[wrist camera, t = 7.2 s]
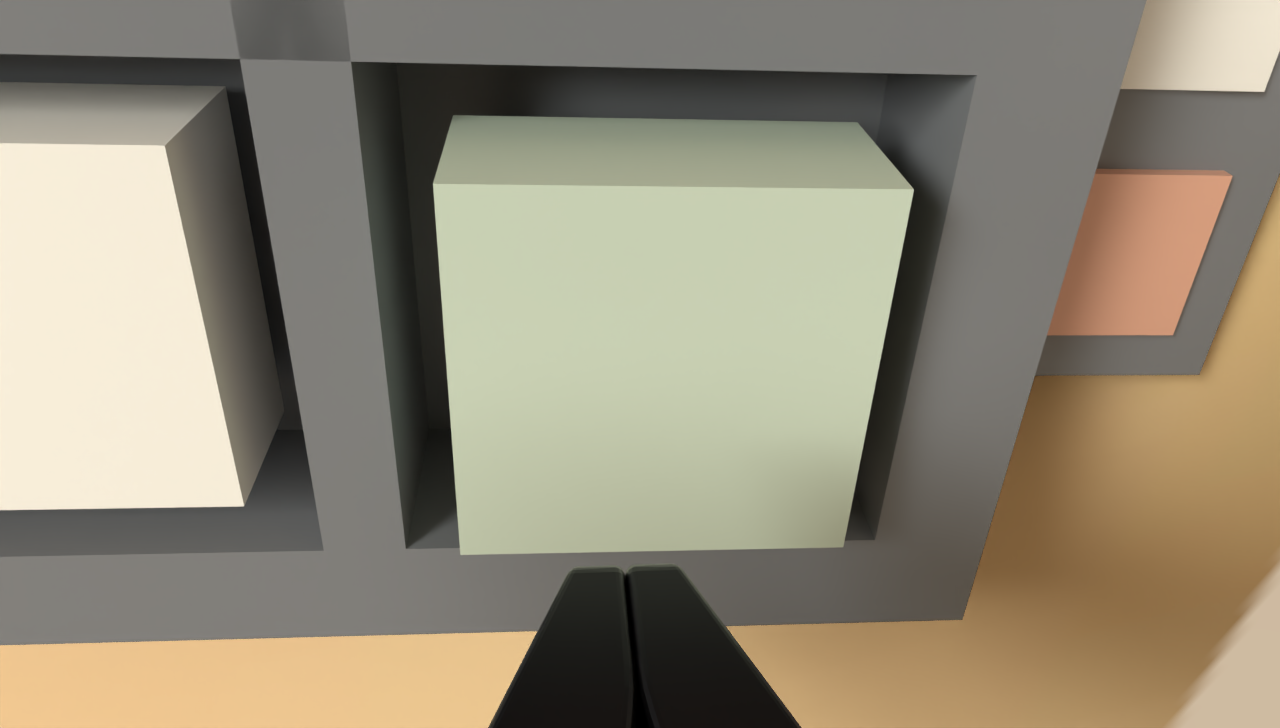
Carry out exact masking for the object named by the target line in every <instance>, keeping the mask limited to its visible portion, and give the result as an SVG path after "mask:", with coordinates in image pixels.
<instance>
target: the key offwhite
mask: <svg viewBox="0 0 1280 728" xmlns="http://www.w3.org/2000/svg"><path fill="white" fill-rule="evenodd" d="M283 413H284V407H283V401H282V396H281V390H280V385H279V379H278V374H277V368H276V363H275V357H274V352H273V346H272V340H271V335H270V329H269V324H268V318H267V313H266V307H265V302H264V296H263V291H262V285H261V280H260V274H259V269H258V263H257V258H256V252H255V247H254V241H253V235H252V230H251V224H250V219H249V213H248V208H247V202H246V197H245V191H244V186H243V180H242V175H241V169H240V164H239V158H238V153H237V147H236V141H235V136H234V130H233V125H232V119H231V114H230V108H229V103H228V97H227V92H226V86H184V85H133V84H81V83H30V82H0V510H46V509H111V508H176V507H241V506H245V503H246V501H247V499H248V496H249V494H250V491H251V489H252V487H253V484H254V482H255V480H256V477H257V475H258V472H259V470H260V468H261V465H262V463H263V460H264V458H265V456H266V453H267V451H268V449H269V446H270V444H271V441H272V439H273V437H274V434H275V432H276V430H277V427H278V425H279V422H280V420H281V418H282V415H283Z"/></svg>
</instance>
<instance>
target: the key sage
mask: <svg viewBox="0 0 1280 728" xmlns="http://www.w3.org/2000/svg"><path fill="white" fill-rule="evenodd" d="M433 192H434V205H435V219H436V232H437V246H438V259H439V273H440V286H441V300H442V313H443V327H444V340H445V354H446V367H447V381H448V395H449V408H450V422H451V435H452V449H453V462H454V476H455V489H456V503H457V516H458V530H459V543H460V555H483V554H533V553H584V552H634V551H685V550H735V549H786V548H836V547H843V546H844V541H845V536H846V531H847V526H848V521H849V516H850V511H851V506H852V501H853V496H854V490H855V485H856V480H857V475H858V470H859V465H860V460H861V455H862V450H863V445H864V440H865V435H866V430H867V425H868V420H869V415H870V410H871V405H872V399H873V394H874V389H875V384H876V379H877V374H878V369H879V364H880V359H881V354H882V349H883V344H884V339H885V334H886V329H887V324H888V319H889V314H890V308H891V303H892V298H893V293H894V288H895V283H896V278H897V273H898V268H899V263H900V258H901V253H902V248H903V243H904V238H905V233H906V228H907V223H908V217H909V212H910V207H911V202H912V197H913V192H914V189H913V188H912V186H911V185H910V184H909V183H908V182H907V181H906V179H905V178H904V177H903V176H902V175H901V173H900V172H899V171H898V170H897V169H896V167H895V166H894V165H893V164H892V163H891V162H890V160H889V159H888V158H887V157H886V156H885V154H884V153H883V152H882V151H881V150H880V148H879V147H878V146H877V145H876V144H875V143H874V141H873V140H872V139H871V138H870V137H869V135H868V134H867V133H866V132H865V131H864V129H863V128H862V127H861V126H860V125H859V124H858V122H817V121H759V120H702V119H645V118H587V117H530V116H473V115H453V117H452V121H451V124H450V127H449V131H448V134H447V138H446V141H445V144H444V148H443V151H442V155H441V158H440V161H439V165H438V168H437V172H436V175H435V178H434V182H433Z"/></svg>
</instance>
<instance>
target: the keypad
mask: <svg viewBox="0 0 1280 728" xmlns="http://www.w3.org/2000/svg"><path fill="white" fill-rule="evenodd" d="M0 82H30V83H81V84H133V85H184V86H226V92H227V97H228V103H229V108H230V114H231V119H232V125H233V130H234V136H235V141H236V147H237V153H238V158H239V164H240V169H241V175H242V180H243V186H244V191H245V197H246V202H247V208H248V213H249V219H250V224H251V230H252V235H253V241H254V247H255V252H256V258H257V263H258V269H259V274H260V280H261V285H262V291H263V296H264V302H265V307H266V313H267V318H268V324H269V329H270V335H271V340H272V346H273V352H274V357H275V363H276V368H277V374H278V379H279V385H280V390H281V396H282V401H283V407H284V413H283V415H282V418H281V420H280V422H279V425H278V427H277V430H276V432H275V434H274V437H273V439H272V441H271V444H270V446H269V449H268V451H267V453H266V456H265V458H264V460H263V463H262V465H261V468H260V470H259V472H258V475H257V477H256V480H255V482H254V484H253V487H252V489H251V491H250V494H249V496H248V499H247V501H246V503H245V506H241V507H176V508H111V509H46V510H0V645H26V644H64V643H102V642H140V641H178V640H215V639H253V638H291V637H329V636H367V635H405V634H442V633H480V632H518V631H538V630H539V628H540V626H541V624H542V622H543V620H544V618H545V616H546V614H547V612H548V610H549V608H550V606H551V604H552V602H553V600H554V598H555V596H556V594H557V592H558V591H559V589H560V587H561V585H562V583H563V581H564V579H565V577H566V575H567V574H568V573H569V571H570V570H571V569H573V568H575V567H581V566H610V565H615V566H619V567H620V568H622V570H623V571H624V574H625V572H626V571H627V569H628V568H629V567H630V566H631V565H641V564H675V565H678V566H679V567H681V568H682V569H683V571H684V572H685V573H686V574H687V576H688V577H689V578H690V580H691V581H692V582H693V584H694V585H695V586H696V588H697V589H698V590H699V592H700V593H701V594H702V596H703V597H704V598H705V600H706V601H707V602H708V604H709V605H710V606H711V608H712V609H713V610H714V612H715V613H716V614H717V616H718V617H719V618H720V620H721V621H722V622H723V624H724V625H725V626H745V625H783V624H821V623H859V622H897V621H934V620H962V619H963V616H964V612H965V609H966V606H967V602H968V599H969V596H970V592H971V589H972V586H973V582H974V579H975V575H976V572H977V569H978V565H979V562H980V559H981V555H982V552H983V549H984V545H985V542H986V538H987V535H988V532H989V528H990V525H991V522H992V518H993V515H994V512H995V508H996V505H997V502H998V498H999V495H1000V491H1001V488H1002V485H1003V481H1004V478H1005V475H1006V471H1007V468H1008V465H1009V461H1010V458H1011V454H1012V451H1013V448H1014V444H1015V441H1016V438H1017V434H1018V431H1019V428H1020V424H1021V421H1022V417H1023V414H1024V411H1025V407H1026V404H1027V401H1028V397H1029V394H1030V391H1031V387H1032V384H1033V380H1034V377H1035V376H1045V375H1199V374H1200V371H1201V369H1202V366H1203V364H1204V361H1205V359H1206V356H1207V354H1208V351H1209V349H1210V346H1211V344H1212V341H1213V339H1214V336H1215V334H1216V331H1217V329H1218V326H1219V324H1220V321H1221V319H1222V316H1223V314H1224V311H1225V309H1226V306H1227V304H1228V301H1229V299H1230V296H1231V294H1232V291H1233V289H1234V287H1235V284H1236V282H1237V279H1238V277H1239V274H1240V272H1241V269H1242V267H1243V264H1244V262H1245V259H1246V257H1247V254H1248V252H1249V249H1250V247H1251V244H1252V242H1253V239H1254V237H1255V234H1256V232H1257V229H1258V227H1259V224H1260V222H1261V219H1262V217H1263V214H1264V212H1265V209H1266V207H1267V204H1268V202H1269V199H1270V197H1271V194H1272V192H1273V189H1274V187H1275V184H1276V182H1277V179H1278V177H1279V174H1280V0H0ZM453 115H473V116H530V117H587V118H645V119H702V120H759V121H817V122H858V124H859V125H860V126H861V127H862V128H863V129H864V131H865V132H866V133H867V134H868V135H869V137H870V138H871V139H872V140H873V141H874V143H875V144H876V145H877V146H878V147H879V148H880V150H881V151H882V152H883V153H884V154H885V156H886V157H887V158H888V159H889V160H890V162H891V163H892V164H893V165H894V166H895V167H896V169H897V170H898V171H899V172H900V173H901V175H902V176H903V177H904V178H905V179H906V181H907V182H908V183H909V184H910V185H911V186H912V188H913V189H914V192H913V197H912V202H911V207H910V212H909V217H908V223H907V228H906V233H905V238H904V243H903V248H902V253H901V258H900V263H899V268H898V273H897V278H896V283H895V288H894V293H893V298H892V303H891V308H890V314H889V319H888V324H887V329H886V334H885V339H884V344H883V349H882V354H881V359H880V364H879V369H878V374H877V379H876V384H875V389H874V394H873V399H872V405H871V410H870V415H869V420H868V425H867V430H866V435H865V440H864V445H863V450H862V455H861V460H860V465H859V470H858V475H857V480H856V485H855V490H854V496H853V501H852V506H851V511H850V516H849V521H848V526H847V531H846V536H845V541H844V546H843V547H836V548H786V549H735V550H685V551H634V552H584V553H533V554H483V555H460V543H459V530H458V516H457V503H456V489H455V476H454V462H453V449H452V435H451V422H450V408H449V395H448V381H447V367H446V354H445V340H444V327H443V313H442V300H441V286H440V273H439V259H438V246H437V232H436V219H435V205H434V192H433V182H434V178H435V175H436V172H437V168H438V165H439V161H440V158H441V155H442V151H443V148H444V144H445V141H446V138H447V134H448V131H449V127H450V124H451V121H452V117H453Z"/></svg>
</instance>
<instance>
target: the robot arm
mask: <svg viewBox="0 0 1280 728" xmlns="http://www.w3.org/2000/svg"><path fill="white" fill-rule="evenodd" d="M488 728H801V726H800V725H799V724H798V722H797V721H796V720H795V718H794V717H793V716H792V714H791V713H790V712H789V710H788V709H787V708H786V706H785V705H784V704H783V702H782V701H781V700H780V698H779V697H778V696H777V694H776V693H775V692H774V690H773V689H772V688H771V686H770V685H769V684H768V682H767V681H766V680H765V678H764V677H763V676H762V674H761V673H760V672H759V670H758V669H757V668H756V666H755V665H754V664H753V662H752V661H751V660H750V658H749V657H748V656H747V654H746V653H745V652H744V650H743V649H742V648H741V646H740V645H739V644H738V642H737V641H736V640H735V638H734V637H733V636H732V634H731V633H730V632H729V630H728V629H727V628H726V626H725V625H724V624H723V622H722V621H721V620H720V618H719V617H718V616H717V614H716V613H715V612H714V610H713V609H712V608H711V606H710V605H709V604H708V602H707V601H706V600H705V598H704V597H703V596H702V594H701V593H700V592H699V590H698V589H697V588H696V586H695V585H694V584H693V582H692V581H691V580H690V578H689V577H688V576H687V574H686V573H685V572H684V571H683V569H682V568H681V567H679V566H678V565H675V564H641V565H631V566H630V567H629V568H628V569H627V571H626V572H625V574H624V571H623V570H622V568H620V567H619V566H615V565H610V566H581V567H575V568H573V569H571V570H570V571H569V573H568V574H567V575H566V577H565V579H564V581H563V583H562V585H561V587H560V589H559V591H558V592H557V594H556V596H555V598H554V600H553V602H552V604H551V606H550V608H549V610H548V612H547V614H546V616H545V618H544V620H543V622H542V624H541V626H540V628H539V630H538V632H537V634H536V635H535V637H534V639H533V641H532V643H531V645H530V647H529V649H528V651H527V653H526V655H525V657H524V659H523V661H522V663H521V665H520V667H519V669H518V671H517V673H516V675H515V677H514V678H513V680H512V682H511V684H510V686H509V688H508V690H507V692H506V694H505V696H504V698H503V700H502V702H501V704H500V706H499V708H498V710H497V712H496V714H495V716H494V718H493V720H492V721H491V723H490V725H489V727H488Z"/></svg>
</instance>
